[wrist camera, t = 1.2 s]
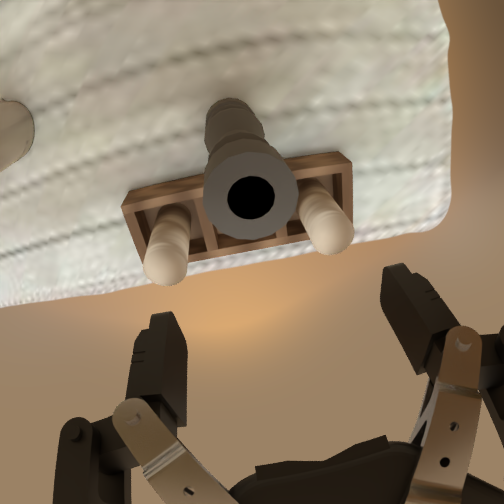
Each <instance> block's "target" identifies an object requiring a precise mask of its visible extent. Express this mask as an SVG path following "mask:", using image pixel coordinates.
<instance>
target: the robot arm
mask: <svg viewBox="0 0 504 504" xmlns="http://www.w3.org/2000/svg"><path fill="white" fill-rule="evenodd" d="M33 138H34V124H33V120H32V117H31V115H30V113H29V111H28V110H27V108H26V107H24V106H23V105H22V104H20V103H18V102H14V101H9V102H6V101H4V100H3V99H0V172H2V171H3V170H5V169H6V168H7V167H9V166H10V165H12V164H13V163H15V162H16V161H18V160H19V159H20V158H22V157H23V156H24V155H25V154H26V153H27V152H28V150H29V149H30V147H31V145H32V142H33ZM380 302H381V307H382V310H383V312H384V314H385V316H386V318H387V320H388V321H389V323H390V325H391V327H392V329H393V330H394V332H395V334H396V336H397V338H398V340H399V342H400V344H401V345H402V347H403V349H404V351H405V353H406V355H407V357H408V359H409V360H410V363H411V365H412V366H413V369H414V371H415V372H416V375H419V374H422V373H425V372H427V374H428V376H429V379H428V382H427V386H426V390H425V393H424V397H423V401H422V405H421V408H420V412H419V415H418V419H417V422H416V424H415V427H414V429H413V431H412V434H411V436H410V439H409V441H408V443H406V442H399V441H389V442H388V440H387V437H386V435H383V436H380V437H377V438H374V439H371V440H368V441H365V442H362V443H358V444H355V445H353V446H352V447H350V448H348V449H346V450H344V451H342V452H341V453H339V454H337V455H335V456H333V457H331V458H329V459H327V460H324V461H284V462H278V463H273V464H267V465H260V466H255V470H256V473H255V474H252V475H250V476H248V477H246V478H244V479H243V480H241V481H240V482H238V483H237V484H236V485H234V487H232V488H231V489H230V490H227V489H226V488H225V487H224V486H223V485H222V484H221V483H220V482H219V481H218V480H217V479H216V478H215V477H214V476H213V475H212V474H211V473H210V472H209V471H208V470H207V469H206V468H205V467H204V466H203V465H202V464H201V463H200V462H199V461H198V460H197V459H196V458H195V457H194V456H193V455H192V453H191V452H190V451H189V450H188V449H187V448H186V447H185V446H184V445H183V444H182V442H181V441H180V440H179V439H178V438H177V427H185V426H186V425H187V424H186V422H187V416H186V415H187V414H186V413H187V410H186V409H187V358H188V351H187V344H186V340H185V338H184V335H183V333H182V331H181V329H180V327H179V325H178V323H177V320H176V318H175V316H174V314H173V313H172V312H171V311H170V312H163V313H157V314H152V316H151V319H150V325H149V329H145V330H141V332H140V334H139V336H138V337H137V338H136V340H135V343H134V349H133V355H132V360H131V363H132V364H131V366H130V372H129V378H128V385H127V391H126V397H125V400H124V401H123V402H121V403H120V404H119V405H118V406H117V407H116V409H115V411H114V412H113V415H112V416H110V417H108V418H105V419H102V420H99V421H96V422H93V423H90V422H89V421H88V420H86V419H85V418H81V417H76V418H72V419H70V420H69V421H67V422H66V423H65V425H64V426H63V428H62V430H61V433H60V439H59V445H58V453H57V461H56V470H55V480H54V492H53V504H131V468H134V467H137V466H140V465H141V467H142V468H143V470H144V472H143V474H144V476H145V478H146V479H147V481H148V482H149V484H150V485H151V486H152V487H153V489H154V490H155V491H156V493H157V494H158V495H159V496H160V497H161V499H162V500H163V501H164V502H165V503H166V504H504V491H503V490H501V489H499V488H497V487H495V486H493V485H491V484H489V483H487V482H485V481H483V480H481V479H479V478H477V477H475V476H473V475H471V474H469V473H467V471H468V467H469V463H470V459H471V455H472V451H473V446H474V442H475V437H476V432H477V426H478V421H479V415H480V408H481V402H482V398H483V400H484V403H485V405H486V407H487V409H488V411H489V413H490V416H491V418H492V420H493V423H494V425H495V427H496V430H497V432H498V434H499V437H500V439H501V442H502V445H503V447H504V326H502V328H501V330H500V332H499V334H487V335H479V334H478V333H477V332H476V331H475V330H474V329H472V328H470V327H467V326H461V325H460V324H459V322H458V321H457V319H456V318H455V316H454V315H453V314H452V312H451V311H450V310H449V308H448V307H447V305H446V304H445V302H444V301H443V300H442V298H440V296H439V294H438V293H437V292H436V291H435V290H434V288H433V286H432V285H431V284H430V282H429V281H428V280H427V279H426V278H424V277H423V276H421V275H420V274H418V273H413V274H412V273H411V272H410V271H409V269H408V268H407V267H406V265H405V264H404V263H399V264H395V265H390V266H387V267H384V269H383V274H382V284H381V293H380ZM478 390H479V392H480V393H479V392H478Z"/></svg>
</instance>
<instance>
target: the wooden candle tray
mask: <svg viewBox="0 0 504 504" xmlns="http://www.w3.org/2000/svg"><path fill="white" fill-rule="evenodd" d="M284 161H285V162H286V164H287V165H288V167H289V168H290V170H291V171H292V173H293V174H294V176H295V178H296V182H297V187H298V191H299V196H298V201H297V206H296V210H295V212H294V213H293V215H292V216H291V218H290V219H289V221H288V222H287V224H286V225H285V226H283V227H282V228H280V229H279V230H278V231H276V232H275V233H273V234H272V235H269V236H266V237H262V238H259V239H256V240H248V239H236V238H233V237H231V236H229V235H226V234H224V233H222V232H220V231H219V230H218V229H217V228H216V227H215V226H214V225H213V224H212V223H211V222H210V221H209V220H208V217H207V214H206V212H205V209H204V207H203V186H204V174H201V175H196V176H191V177H187V178H182V179H178V180H173V181H169V182H165V183H160V184H156V185H152V186H148V187H144V188H140V189H136V190H132V191H129V192H128V194H127V196H126V198H125V199H124V201H123V203H122V205H121V209H122V212H123V214H124V217H125V220H126V223H127V225H128V228H129V231H130V233H131V236H132V239H133V241H134V244H135V246H136V249H137V251H138V254H139V256H140V259H141V261H142V264H143V271H144V273H145V275H146V276H147V278H148V279H149V280H151V281H152V282H154V283H156V284H158V285H162V286H172V285H175V284H177V283H179V282H181V281H182V280H183V279H184V277H185V276H186V273H187V264H188V263H189V262H194V261H200V260H205V259H210V258H215V257H221V256H226V255H231V254H236V253H242V252H247V251H252V250H257V249H263V248H268V247H273V246H278V245H284V244H289V243H294V242H299V241H305V240H311V242H312V244H313V246H314V248H315V249H316V250H317V251H318V252H320V253H322V254H325V255H334V254H338V253H340V252H342V251H343V250H345V249H346V248H347V247H348V246H349V245H350V244H351V242H352V240H353V238H354V227H353V175H352V162H351V161H350V160H349V159H347V158H346V157H345V156H344V155H343V154H341V153H340V152H339V151H338V152H330V153H323V154H315V155H308V156H301V157H295V158H288V159H284Z"/></svg>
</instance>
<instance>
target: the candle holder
mask: <svg viewBox="0 0 504 504" xmlns="http://www.w3.org/2000/svg"><path fill="white" fill-rule="evenodd" d="M264 136H265V134H264V131H263V127H262V124H261V123H260V121H259V120H258V119H257V118H256V116H255V114H254V113H253V112H252V110H251V109H250V108H249V107H248V105H247V104H246V103H244V102H242V101H241V100H239V99H234V98H226V99H223V100H219V101H218V102H216V103H215V104H214V105H213V106H211V108H210V110H209V111H208V113H207V117H206V127H205V139H204V141H205V144H206V147H207V150H208V152H209V153H210V154H209V158H208V164H207V165H206V167H205V173H204V186H203V207H204V209H205V212H206V214H207V217H208V220H209V221H210V222H211V223H212V224H213V225H214V226H215V227H216V228H217V229H218V230H219V231H220V232H222V233H224V234H226V235H229V236H231V237H233V238H236V239H248V240H256V239H259V238H262V237H266V236H269V235H272V234H273V233H275V232H276V231H278V230H279V229H280V228H282V227H283V226H285V225H286V224H287V222H288V221H289V219H290V218H291V216H292V215H293V213H294V212H295V210H296V206H297V201H298V196H299V191H298V187H297V182H296V178H295V176H294V174H293V173H292V171H291V170H290V168H289V167H288V165H287V164H286V162H285V161H284V159H283V158H282V157H281V156H280V154H279V153H278V152H277V150H276V149H275V148H274V147H272V146H270V145H269V144H268V142H267V141H266V140H265V139H264Z"/></svg>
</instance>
